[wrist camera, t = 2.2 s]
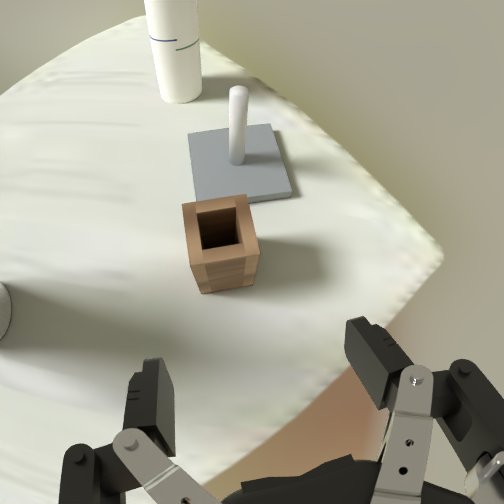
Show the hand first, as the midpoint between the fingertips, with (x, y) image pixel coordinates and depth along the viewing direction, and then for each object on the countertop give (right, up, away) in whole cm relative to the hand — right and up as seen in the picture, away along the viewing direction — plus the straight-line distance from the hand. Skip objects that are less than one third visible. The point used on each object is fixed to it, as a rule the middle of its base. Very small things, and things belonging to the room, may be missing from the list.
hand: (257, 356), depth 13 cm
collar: (-4, +3, +24) cm, 24 cm away
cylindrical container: (-12, +32, +35) cm, 49 cm away
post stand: (-2, +16, +29) cm, 33 cm away
